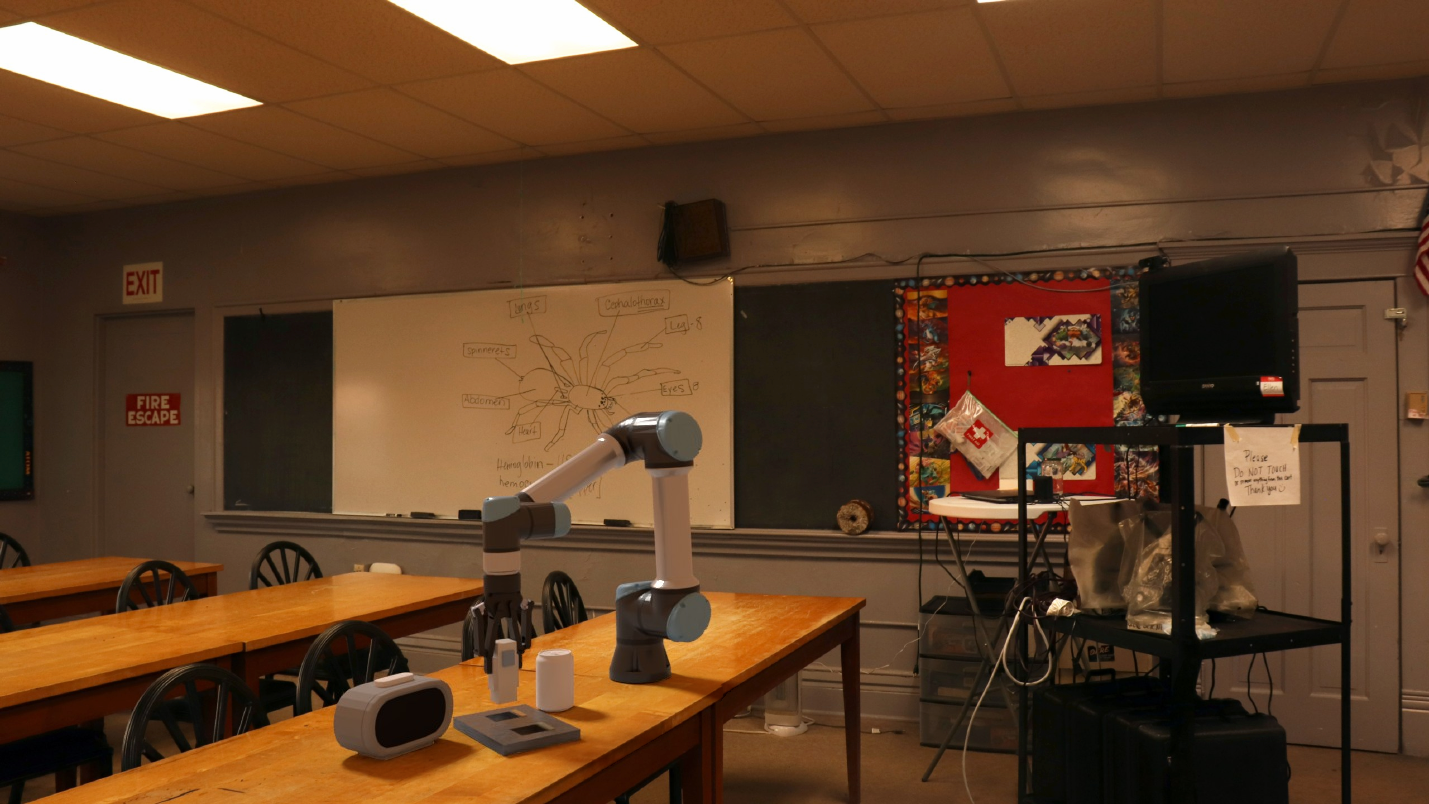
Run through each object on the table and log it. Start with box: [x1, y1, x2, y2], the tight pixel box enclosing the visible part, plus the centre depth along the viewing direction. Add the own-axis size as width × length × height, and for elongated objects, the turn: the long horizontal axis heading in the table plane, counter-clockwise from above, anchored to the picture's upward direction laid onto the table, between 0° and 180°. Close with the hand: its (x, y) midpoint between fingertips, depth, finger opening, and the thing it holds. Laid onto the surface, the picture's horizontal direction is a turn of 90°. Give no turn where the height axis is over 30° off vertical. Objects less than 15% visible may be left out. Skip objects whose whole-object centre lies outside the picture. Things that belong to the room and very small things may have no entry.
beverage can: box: [535, 648, 575, 713], centre depth 214 cm, size 8×8×12 cm
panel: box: [452, 703, 582, 757], centre depth 195 cm, size 16×24×2 cm, turn 37°
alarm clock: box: [333, 672, 454, 762], centre depth 187 cm, size 21×10×13 cm, turn 148°
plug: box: [489, 638, 518, 705], centre depth 201 cm, size 4×5×12 cm
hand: (503, 687), depth 201 cm, fingers closed on plug, 4 cm apart
